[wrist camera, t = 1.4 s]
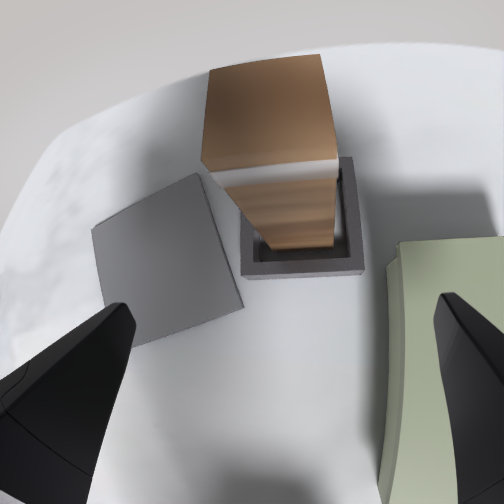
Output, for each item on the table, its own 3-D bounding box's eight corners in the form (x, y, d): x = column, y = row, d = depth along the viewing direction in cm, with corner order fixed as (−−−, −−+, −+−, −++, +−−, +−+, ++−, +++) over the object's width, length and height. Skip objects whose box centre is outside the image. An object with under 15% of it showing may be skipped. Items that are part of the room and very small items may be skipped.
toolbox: (496, 463, 13) (528, 489, 8) (373, 489, 16) (381, 532, 10) (506, 252, 17) (547, 232, 12) (381, 261, 19) (399, 239, 14)
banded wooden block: (333, 250, 20) (339, 146, 8) (273, 253, 21) (199, 162, 9) (329, 193, 21) (321, 53, 9) (272, 197, 22) (208, 69, 10)
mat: (244, 307, 21) (242, 307, 20) (120, 351, 22) (116, 352, 22) (199, 175, 24) (196, 172, 24) (94, 231, 26) (91, 229, 25)
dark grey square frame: (361, 274, 20) (364, 269, 18) (248, 279, 21) (240, 275, 19) (350, 170, 21) (352, 156, 19) (248, 178, 23) (241, 166, 21)
